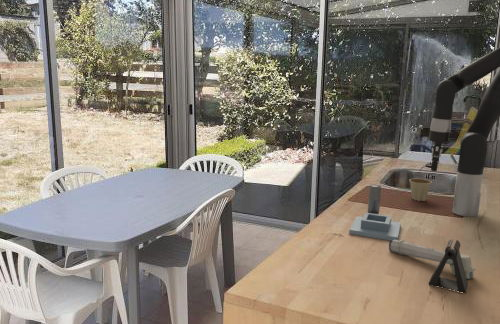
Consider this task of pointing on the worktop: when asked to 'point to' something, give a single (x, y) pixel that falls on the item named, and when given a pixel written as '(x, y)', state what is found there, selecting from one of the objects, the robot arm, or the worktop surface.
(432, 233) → the worktop surface
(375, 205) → the steel axle
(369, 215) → the block
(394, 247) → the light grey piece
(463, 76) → the robot arm
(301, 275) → the worktop surface
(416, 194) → the flower pot
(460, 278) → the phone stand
